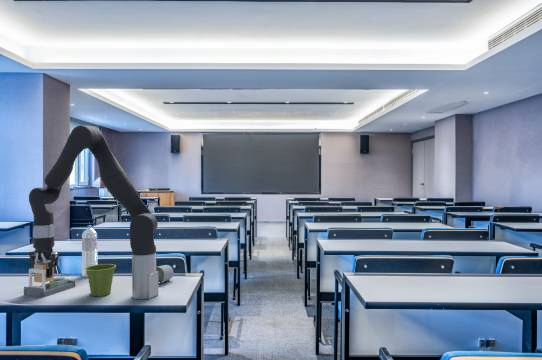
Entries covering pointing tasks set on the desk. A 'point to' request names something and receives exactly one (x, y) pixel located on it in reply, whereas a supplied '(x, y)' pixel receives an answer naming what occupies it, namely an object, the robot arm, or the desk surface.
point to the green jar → (58, 282)
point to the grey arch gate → (42, 277)
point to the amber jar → (39, 275)
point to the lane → (47, 289)
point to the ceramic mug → (164, 273)
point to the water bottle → (89, 249)
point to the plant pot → (100, 278)
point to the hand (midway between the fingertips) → (44, 276)
